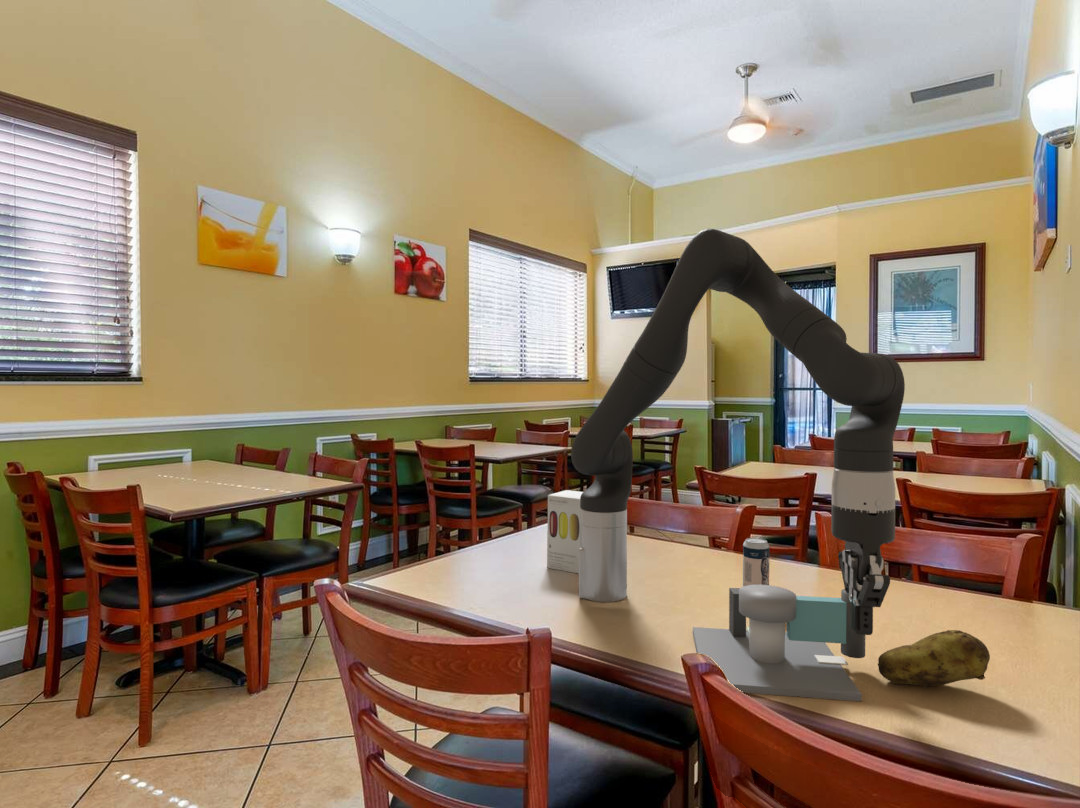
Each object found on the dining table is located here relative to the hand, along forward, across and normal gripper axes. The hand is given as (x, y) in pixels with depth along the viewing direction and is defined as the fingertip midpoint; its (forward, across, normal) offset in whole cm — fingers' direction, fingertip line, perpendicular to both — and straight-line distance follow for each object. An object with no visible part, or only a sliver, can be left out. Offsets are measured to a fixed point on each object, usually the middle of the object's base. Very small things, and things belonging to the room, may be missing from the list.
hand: (862, 632), depth 83 cm
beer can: (+8, -35, -8) cm, 37 cm away
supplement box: (+8, -54, -45) cm, 71 cm away
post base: (+8, -8, -11) cm, 16 cm away
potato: (+9, -4, +10) cm, 14 cm away
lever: (+6, -8, -6) cm, 12 cm away
